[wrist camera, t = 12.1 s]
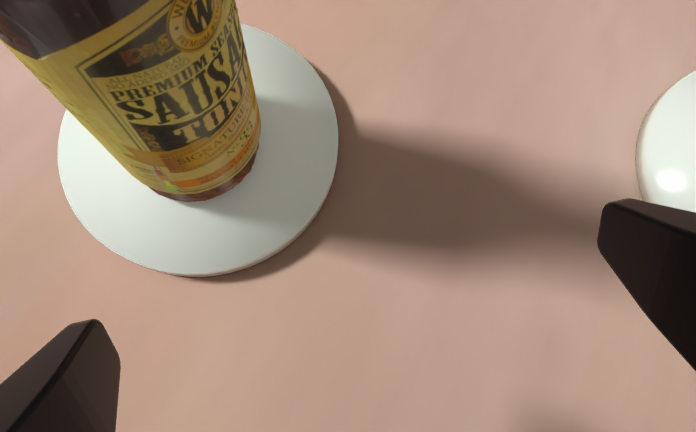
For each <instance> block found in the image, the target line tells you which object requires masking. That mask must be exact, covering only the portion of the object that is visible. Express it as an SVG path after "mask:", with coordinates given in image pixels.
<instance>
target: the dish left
mask: <svg viewBox="0 0 696 432" xmlns="http://www.w3.org/2000/svg"><path fill="white" fill-rule="evenodd" d="M240 26H241V30H242V35H243V40H244V44H245V48H246V54H247V58H248V63H249V67H250V71H251V76H252V80H253V85H254V89H255V94H256V99H257V103H258V108H259V113H260V118H261V135H260V139H259V149H258V151H257V154H256V158H255V162H254V164H253V166H252V169H251V171H250V172H249V173H248V174H247V175H246V176H245V177H244V178H243V180H242V181H241V182H240V183H239V184H237V185H235V186H234V187H233V188H232V189H230V190H228V191H226V192H225V193H223V194H221V195H219V196H216V197H214V198H212V199H209V200H206V201H196V202H193V201H191V202H183V201H178V200H172V199H169V198H166V197H164V196H161V195H158V194H157V193H155V192H154V191H153V190H151V189H150V188H149V187H148V186H146V185H144V184H143V183H141V182H140V181H139V180H137V179H136V178H135V177H133V176H132V175H131V174H130V173H129V172H128V171H127V170H126V169H125V168H124V167H123V166H122V165H121V164H120V163H119V162H118V161H117V160H116V159H115V158H114V157H113V156H112V155H111V154H110V153H109V152H108V151H107V150H106V149H105V148H104V147H103V146H102V144H101V143H100V142H99V141H98V140H97V139H96V138H95V137H94V136H93V135H92V134H91V133H90V132H89V131H88V130H87V129H86V128H85V127H84V126H83V125H82V124H81V123H80V122H79V121H78V120H77V119H76V118H75V117H74V116H73V115H72V114H71V113H70V112H69V111H68V110H67V109H66V111H65V114H64V118H63V121H62V124H61V128H60V134H59V141H58V167H59V173H60V180H61V183H62V186H63V189H64V192H65V195H66V198H67V200H68V202H69V204H70V206H71V208H72V210H73V212H74V213H75V214H76V216H77V217H78V219H79V220H80V222H81V223H82V224H83V226H84V227H85V228H86V229H87V230H88V231H89V232H90V233H91V234H92V235H93V236H94V237H95V238H96V239H97V240H98V241H99V242H101V243H102V244H103V245H105V246H106V247H107V248H109V249H110V250H111V251H113V252H115V253H117V254H118V255H120V256H122V257H124V258H126V259H127V260H130V261H132V262H134V263H136V264H139V265H141V266H144V267H146V268H149V269H151V270H154V271H158V272H162V273H166V274H170V275H177V276H186V277H210V276H217V275H223V274H229V273H233V272H236V271H240V270H243V269H247V268H249V267H251V266H254V265H256V264H258V263H261V262H263V261H265V260H267V259H268V258H270V257H272V256H273V255H275V254H277V253H279V252H280V251H281V250H283V249H284V248H285V247H287V246H288V245H289V244H291V243H292V242H293V241H294V240H295V239H296V238H297V237H298V236H299V235H300V234H301V233H302V232H303V231H304V230H305V229H306V228H307V227H308V226H309V225H310V223H311V222H312V221H313V219H314V218H315V217H316V215H317V214H318V212H319V211H320V209H321V207H322V205H323V204H324V202H325V200H326V198H327V195H328V193H329V191H330V188H331V186H332V182H333V178H334V174H335V171H336V164H337V154H338V124H337V119H336V113H335V109H334V106H333V103H332V100H331V97H330V95H329V93H328V91H327V89H326V87H325V85H324V83H323V81H322V80H321V78H320V77H319V75H318V74H317V72H316V71H315V69H314V68H313V67H312V66H311V65H310V64H309V63H308V61H307V60H306V59H305V58H304V57H303V56H302V55H301V54H299V53H298V52H297V51H296V50H295V49H294V48H292V47H291V46H290V45H288V44H287V43H285V42H283V41H282V40H280V39H279V38H277V37H275V36H273V35H271V34H269V33H267V32H265V31H263V30H260V29H257V28H254V27H252V26H249V25H244V24H240Z"/></svg>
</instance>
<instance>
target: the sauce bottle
mask: <svg viewBox="0 0 696 432" xmlns="http://www.w3.org/2000/svg"><path fill="white" fill-rule="evenodd" d="M0 41H1V42H2V43H3V44H4V45H5V46H6V47H7V48H8V49H9V50H10V51H11V52H12V53H13V54H14V55H15V56H16V57H17V58H18V59H19V60H20V61H21V62H22V63H23V64H24V65H25V66H26V67H27V68H28V69H29V70H30V71H31V72H32V73H33V74H34V75H35V76H36V77H37V78H38V79H39V80H40V81H41V82H42V83H43V85H44V86H45V87H46V88H47V89H48V90H49V91H50V92H51V93H52V94H53V95H54V96H55V97H56V98H57V99H58V100H59V102H60V103H61V104H62V105H63V106H64V107H65V108H66V109H67V110H68V111H69V112H70V113H71V114H72V115H73V116H74V117H75V118H76V119H77V120H78V121H79V122H80V123H81V124H82V125H83V126H84V127H85V128H86V129H87V130H88V131H89V132H90V133H91V134H92V135H93V136H94V137H95V138H96V139H97V140H98V141H99V142H100V143H101V144H102V146H103V147H104V148H105V149H106V150H107V151H108V152H109V153H110V154H111V155H112V156H113V157H114V158H115V159H116V160H117V161H118V162H119V163H120V164H121V165H122V166H123V167H124V168H125V169H126V170H127V171H128V172H129V173H130V174H131V175H132V176H133V177H135V178H136V179H137V180H139V181H140V182H141V183H143V184H144V185H146V186H148V187H149V188H150V189H151V190H153V191H154V192H155V193H157V194H158V195H161V196H164V197H166V198H169V199H172V200H178V201H183V202H191V201H193V202H196V201H206V200H209V199H212V198H214V197H216V196H219V195H221V194H223V193H225V192H226V191H228V190H230V189H232V188H233V187H234V186H235V185H237V184H239V183H240V182H241V181H242V180H243V178H244V177H245V176H246V175H247V174H248V173H249V172H250V171H251V169H252V166H253V164H254V162H255V158H256V154H257V151H258V149H259V139H260V135H261V118H260V113H259V108H258V103H257V99H256V94H255V89H254V85H253V80H252V76H251V71H250V67H249V63H248V58H247V54H246V48H245V44H244V40H243V35H242V30H241V26H240V22H239V17H238V11H237V7H236V3H235V0H0Z"/></svg>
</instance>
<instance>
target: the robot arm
mask: <svg viewBox="0 0 696 432" xmlns="http://www.w3.org/2000/svg"><path fill="white" fill-rule="evenodd" d="M597 244H598V248H599V251H600V253H601V254H602V256H603V257H604V259H605V260H606V261H607V263H608V264H609V265H610V267H611V268H612V269H613V271H614V272H615V274H616V275H617V276H618V278H619V279H620V280H621V282H622V283H623V284H624V286H625V287H626V289H627V290H628V291H629V293H630V294H631V295H632V297H633V298H634V300H635V301H636V302H637V304H638V305H639V306H640V308H641V309H642V310H643V312H644V313H645V314H646V315H647V317H648V318H649V319H650V320H651V322H652V323H653V324H654V325H655V326H656V327H657V329H658V330H659V331H660V332H661V333H662V334H663V335H664V336H665V338H666V339H667V340H668V341H669V342H670V343H671V344H672V345H673V346H674V348H675V349H676V350H677V351H678V352H679V353H680V354H681V355H682V357H683V358H684V359H685V360H686V361H687V362H688V363H689V364H690V365H691V367H692V368H693V369H694V370H695V371H696V212H691V211H687V210H682V209H677V208H673V207H668V206H663V205H659V204H654V203H649V202H645V201H640V200H635V199H630V198H629V199H622V200H617V201H613V202H609V203H608V204H606V205H605V206H604V208H603V211H602V216H601V221H600V227H599V233H598V238H597ZM120 367H121V366H120V358H119V355H118V353H117V351H116V349H115V347H114V345H113V343H112V341H111V339H110V337H109V335H108V334H107V332H106V330H105V328H104V326H103V325H102V323H101V322H100V321H99V320H96V319H90V320H86V321H81V322H77V323H73V324H70V325H68V326H67V327H66V328H65V329H63V330H62V331H61V332H60V333H59V334H58V335H57V336H55V337H54V338H53V339H52V340H51V341H50V342H49V343H47V344H46V345H45V346H44V347H43V348H42V349H40V350H39V351H38V352H37V353H36V354H35V355H34V356H32V357H31V358H30V359H29V360H28V361H27V362H26V363H24V364H23V365H22V366H21V367H20V368H19V369H18V370H16V371H15V372H14V373H13V374H12V375H11V376H9V377H8V378H7V379H6V380H5V381H4V382H3V383H1V384H0V432H115V429H116V417H117V405H118V393H119V380H120Z"/></svg>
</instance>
